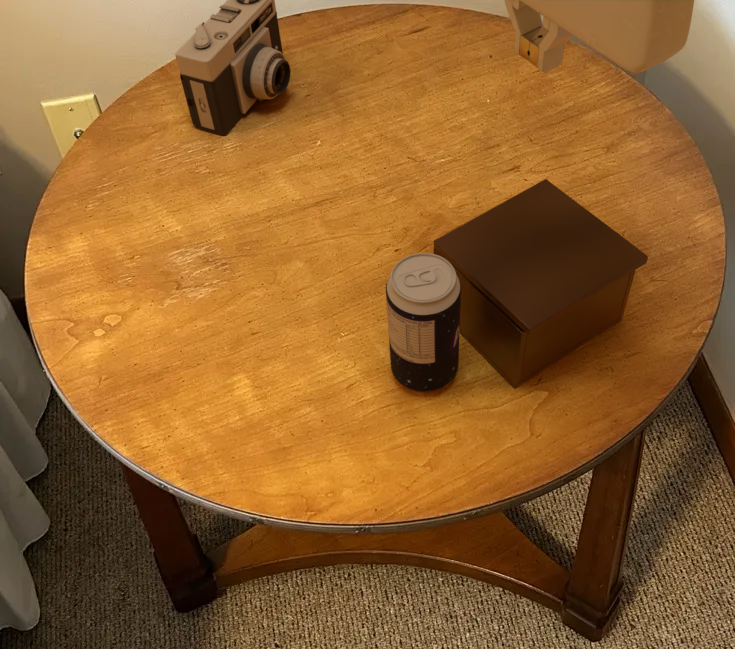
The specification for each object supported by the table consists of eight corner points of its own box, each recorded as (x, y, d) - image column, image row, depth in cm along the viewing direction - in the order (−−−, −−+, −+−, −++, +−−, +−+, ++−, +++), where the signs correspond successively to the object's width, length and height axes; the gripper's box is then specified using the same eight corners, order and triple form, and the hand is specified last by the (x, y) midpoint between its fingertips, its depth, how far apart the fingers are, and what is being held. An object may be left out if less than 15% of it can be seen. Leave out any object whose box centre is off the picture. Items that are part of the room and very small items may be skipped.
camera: (254, 146, 93) (238, 67, 86) (190, 128, 96) (169, 49, 88) (315, 72, 101) (305, -7, 93) (254, 57, 103) (239, -21, 96)
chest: (622, 319, 76) (638, 260, 70) (514, 388, 72) (521, 333, 66) (536, 245, 82) (544, 185, 76) (433, 305, 78) (433, 247, 72)
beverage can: (464, 391, 72) (469, 299, 63) (397, 403, 72) (392, 311, 62) (449, 338, 76) (452, 243, 66) (385, 349, 75) (379, 255, 66)
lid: (646, 263, 69) (648, 256, 69) (529, 336, 65) (530, 329, 65) (545, 185, 76) (545, 178, 75) (433, 247, 72) (433, 240, 72)
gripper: (752, -107, 43) (688, 118, 54) (489, -226, 54) (480, -19, 65) (660, -65, 41) (613, 160, 52) (407, -197, 52) (411, 11, 63)
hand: (537, 59), depth 58 cm, fingers closed
